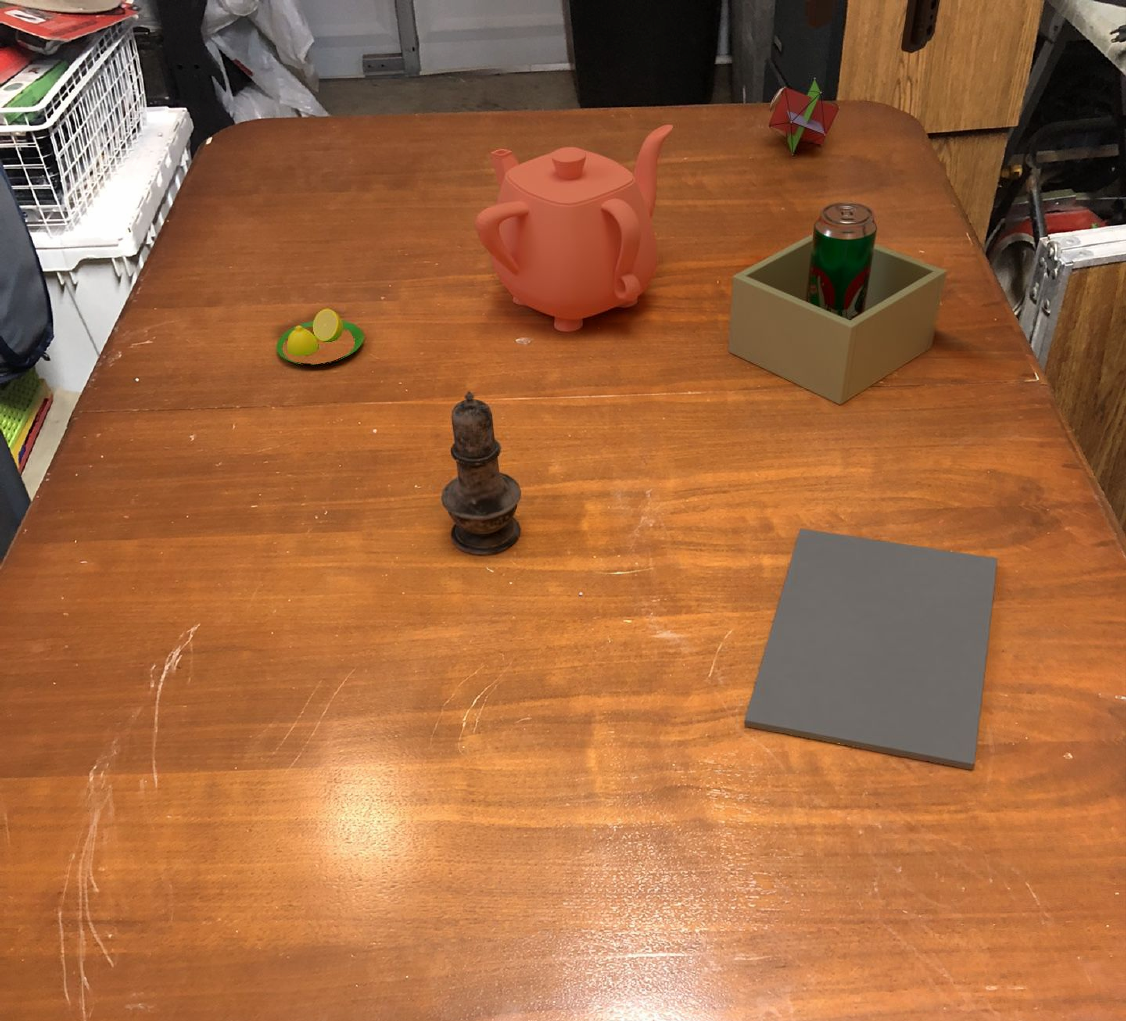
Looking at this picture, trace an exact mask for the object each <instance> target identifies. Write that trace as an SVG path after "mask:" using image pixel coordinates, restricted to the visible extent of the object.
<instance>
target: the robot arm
mask: <svg viewBox="0 0 1126 1021" xmlns="http://www.w3.org/2000/svg"><path fill="white" fill-rule="evenodd" d="M940 3H941V0H907V2H906V9H905V18H904V25H903V30H902V37H901V43H900V50H901V51H902V52H904V53H908V54H914V53H916V52H919V51H921V50H923V49H924V48H925V47H926V46H927V44H928V42H930V41H932V39H933V37H934V35H935V33H936V28H937V27H936V26H937V22H938V21H937V20H938V14H939V9H940ZM835 6H836V0H804V12H805V17H807V26H808V27H811V28H815V29H820V28H822V27H825V26H827V25H829V24H831V23H832V21H833V19H834V15H835Z"/></svg>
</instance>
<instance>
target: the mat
mask: <svg viewBox="0 0 1126 1021" xmlns="http://www.w3.org/2000/svg"><path fill="white" fill-rule="evenodd" d="M998 559H999V558H998V557H991V556H985V555H978V554H972V553H964V552H959V551H952V550H945V549H938V548H932V547H927V546H919V545H914V544H913V545H912V544H905V543H899V542H892V541H887V540H879V539H873V538H868V537H867V538H866V537H860V536H853V535H848V534H840V533H834V532H827V531H820V530H814V529H813V530H812V529H808V528H800V529H799V531H798V535H797V538H796V542H795V546H794V548H793V552H792V556H791V559H790V562H789V566H788V569H787V573H786V577H785V579H784V580H785V581H784V583H783V587H782V590H781V593H780V597H779V601H778V604H777V608H776V610H775V614H774V618H773V622H772V625H771V627H770V628H771V629H770V632H769V635H768V639H767V642H766V645H765V649H764V652H763V655H762V659H761V663H760V665H759V670H758V673H757V677H756V680H755V684H754V687H753V691H752V694H751V697H750V700H749V703H748V704H749V705H748V708H747V711H746V714H745V718H744V724H743V726H744V727H747V728H751V729H756V728H757V729H756V730H761V731H766V732H772V733H777V732H778V734H782V733H785V734H784V735H787V734H789V735H788V736H793V735H796V736H795V737H798V736H801V737H800V738H803V737H805V738H804V739H808V738H810V739H809V740H813V739H818V740H817V741H819V740H822V741H821V742H824V741H825V742H824V743H829V742H832V743H831V744H834V743H840V744H843V745H842V746H844V745H847V746H846V747H850V746H854V747H853V748H855V747H857V748H856V749H860V748H861V749H862V750H865V751H870V750H871V751H870V752H876V753H882V754H887V755H891V754H892V755H891V756H896V757H902V758H907V757H908V759H912V760H918V761H922V762H927V761H929V762H928V763H932V764H938V763H939V764H938V765H943V764H944V765H943V766H948V765H949V767H953V766H954V768H959V769H963V770H964V769H965V770H969V769H970V771H973V769H974V768H975V764H976V756H977V755H976V754H977V747H978V737H979V727H980V719H981V710H982V703H983V702H982V700H983V693H984V684H985V675H986V665H987V656H988V648H989V639H990V631H991V621H992V614H993V613H992V612H993V605H994V596H995V595H994V594H995V587H996V586H995V585H996V576H997V569H998ZM791 734H792V735H791ZM828 741H829V742H828Z"/></svg>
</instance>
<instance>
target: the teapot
mask: <svg viewBox="0 0 1126 1021" xmlns="http://www.w3.org/2000/svg"><path fill="white" fill-rule="evenodd" d="M673 130H674V125H673V124H664V125H662V126H659V127H658V128H656V129H654V130H653V131H652V132H651V133H649V134H648V136H646V138H645V140H644V141H643V144H642V145H641V148H640V150H639V152H638V155H637V158H636V162H635V166H634V169H633V172H631V171H630V170H628V169H627V168H626V167H624V166H623V165H622V164H620V163H619V162H616V161H615V160H613V159H611V158H609V157H607V156H604V155H601V154H598V153H596V152H592V151H589V150H586V149H585V150H584V149H583V148H580V147H575V146H565V147H561V148H557V149H555V150H554V151H552V152H549V153H547V154H544V155H543V154H542V155H540V156H538V157H535V158H532V159H530V160H527V161H524V162H522V163H519V161H518V160H517V159H516V157H515V156H514V153H513V150H509V149H505V148H502V147H501V148H498V149H496V150H494V151H491V152H490V158H491V162H492V166H493V169H494V173H495V177H496V181H497V185H498V189H499V193H498V195H497V199H496V202H495V205H491V206H489V207H487V208H484V209H483V210H481V211H480V212H479V213H478V215H477V216H476V219H475V230H476V232H477V236H478V238H479V240H480V242H481V244H482V245H483V247H484V248H485V249H486V251H488V252H489V254H490V262H491V266H492V269H493V271H494V273H495V274H496V276H497V277H498V279H499V281H500V282H501V284H503V285H502V286H504V288H506V290H507V291H508V292H509V293H510V294H511V295H512V301H513V303H514V304H516V305H518V306H526V307H529V308H531V309H533V310H536V311H538V312H540V313H543V314H546V315H547V316H552V317H554V322H553V327H554V328H555V329H556V330H558V331H560V332H563V333H568V332H569V333H570V332H575V331H578V330H580V329H582V327H583V326H584V320H583V319H586V318H589V317H593V316H596V315H599V314H602V313H604V312H606V311H609V310H611V309H615V308H621V309H622V308H630V307H633V306H635V305H636V304H637V303H638V297H639V296H640V295H642V294H643V293H644V292H645V291H646V290H647V288H648V286H649V285H650V283H651V281H652V280H653V278H654V276H655V274H656V271H657V268H658V249H657V241H656V235H655V229H654V225H653V220H652V216H653V214H654V210H655V206H656V200H657V188H658V186H657V184H658V183H657V181H658V180H657V178H658V177H657V176H658V162H659V157H660V156H659V155H660V153H661V150H662V147H663V144H664V143H665V141H666V140H667V138H668V137H669V135H670V134H671V133H672V131H673Z"/></svg>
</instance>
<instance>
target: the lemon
mask: <svg viewBox="0 0 1126 1021" xmlns="http://www.w3.org/2000/svg"><path fill="white" fill-rule="evenodd" d="M306 327H313V332H314V335H315V336H314V335H313V334H312V333H311V332H310V331H309V330H307V329H305V328H306ZM343 329H345V330H349V331H350V332H351V334H352V336H353V338H355V340H354V341H355V345H354V348H353V350H351V352H350V353H349V354H347V355H346V356H345V357H343V358H341V359H340V360H343V359H344V358H346V357H348V356H350V355H352V354H353V353H354V352H357V350H358V349H359V348H360V347H361V346H362V344H363V342H364V338H365V335H364V332H363V330H362V329H361V328H360V327H359V326H358V325H356V324H355V323H352V322H349V321H346V320H342V318H341V317H340V315H339V314H338V312H337V313H336V312H335V311H334V310H333V309H331V308H324V309H321V310H320V311H319V312H317V314H316V315H315V317H314V319H313V320H312V321H308V322H304V323H301V324H298V325H296V326H294V327H292V328H290V329H288V330H287V331H285V332H284V333H283V334H282V335H281V336H280V337H279V338H278V340H277V342H276V351H277V353H278V355H279V356H280V357H282V358H283V359H284V360H285V361H287V362H288V361H289V362H291V363H295V364H300V365H302V364H301V363H297V362H294V361H291V360H289V359H288V358H287V357H285V356H286V355H284V353H283V350H282V348H283V343H284V341H287V340H284V339H285V338H288V341H287V350H288V352H289V353H290V354H291V355H293V356H308V355H311V354H313V353H315V352H316V351H317V350H318V349H319V344H318V341H317V339H318V340H320V341H323V342H332V341H335V340H337V339H338V338H339V337H340V336H341V334H342V331H343ZM316 338H317V339H316ZM336 361H338V360H336ZM336 361H335V362H336ZM330 363H331V362H329V363H328V364H330ZM313 365H315V366H316V364H312V366H313ZM322 365H325V363H323V364H322Z"/></svg>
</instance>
